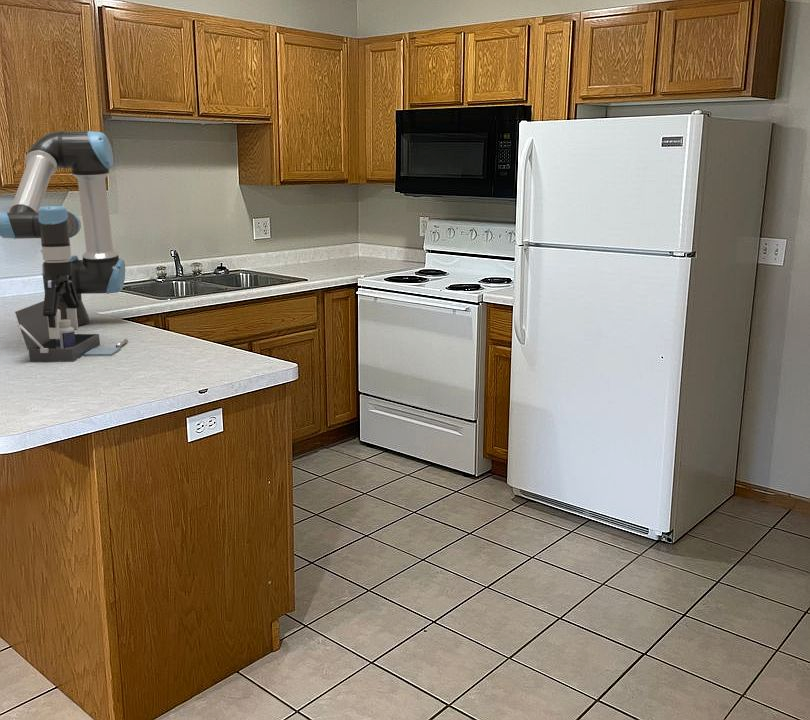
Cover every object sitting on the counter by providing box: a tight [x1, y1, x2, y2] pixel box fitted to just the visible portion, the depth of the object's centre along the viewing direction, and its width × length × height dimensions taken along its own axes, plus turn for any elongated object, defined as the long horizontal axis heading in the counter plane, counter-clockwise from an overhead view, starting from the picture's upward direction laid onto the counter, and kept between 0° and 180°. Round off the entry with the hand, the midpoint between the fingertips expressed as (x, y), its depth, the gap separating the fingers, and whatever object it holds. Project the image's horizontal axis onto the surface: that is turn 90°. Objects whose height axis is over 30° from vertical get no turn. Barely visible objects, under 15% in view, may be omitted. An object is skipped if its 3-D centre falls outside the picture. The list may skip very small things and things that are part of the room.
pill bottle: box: [55, 319, 76, 349], centre depth 238 cm, size 5×5×10 cm
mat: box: [83, 347, 122, 357], centre depth 239 cm, size 8×8×1 cm
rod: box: [115, 338, 129, 348], centre depth 249 cm, size 8×1×1 cm, turn 1°
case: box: [14, 300, 101, 363], centre depth 237 cm, size 22×15×14 cm, turn 1°
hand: (64, 334), depth 237 cm, fingers open, 13 cm apart
